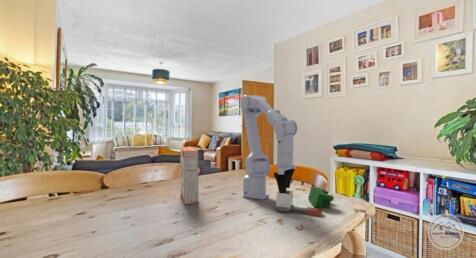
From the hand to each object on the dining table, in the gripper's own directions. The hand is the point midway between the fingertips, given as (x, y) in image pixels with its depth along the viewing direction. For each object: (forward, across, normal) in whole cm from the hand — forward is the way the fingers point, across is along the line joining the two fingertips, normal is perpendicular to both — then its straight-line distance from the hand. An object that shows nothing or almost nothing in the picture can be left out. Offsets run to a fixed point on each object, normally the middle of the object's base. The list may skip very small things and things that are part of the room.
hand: (284, 190), depth 93 cm
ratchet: (+7, 0, -5) cm, 9 cm away
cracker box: (+8, -3, +39) cm, 40 cm away
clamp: (+8, +12, -12) cm, 18 cm away
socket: (+6, 0, 0) cm, 6 cm away
